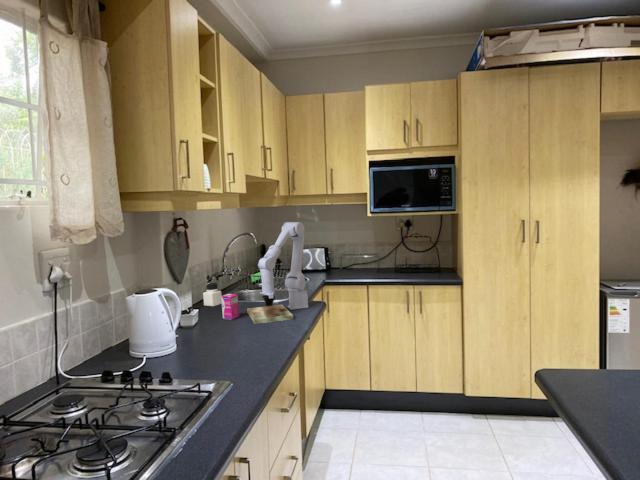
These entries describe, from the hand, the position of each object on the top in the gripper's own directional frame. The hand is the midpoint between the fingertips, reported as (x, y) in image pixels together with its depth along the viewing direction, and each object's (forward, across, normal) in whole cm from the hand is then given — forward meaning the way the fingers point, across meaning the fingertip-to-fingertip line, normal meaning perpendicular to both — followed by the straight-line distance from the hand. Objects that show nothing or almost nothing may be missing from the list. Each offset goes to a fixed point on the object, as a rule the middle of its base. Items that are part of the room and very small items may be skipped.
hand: (269, 310), depth 223 cm
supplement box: (+3, -4, -18) cm, 19 cm away
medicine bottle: (+3, -40, -24) cm, 47 cm away
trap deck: (+3, 0, 0) cm, 3 cm away
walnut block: (+1, +8, 0) cm, 8 cm away
